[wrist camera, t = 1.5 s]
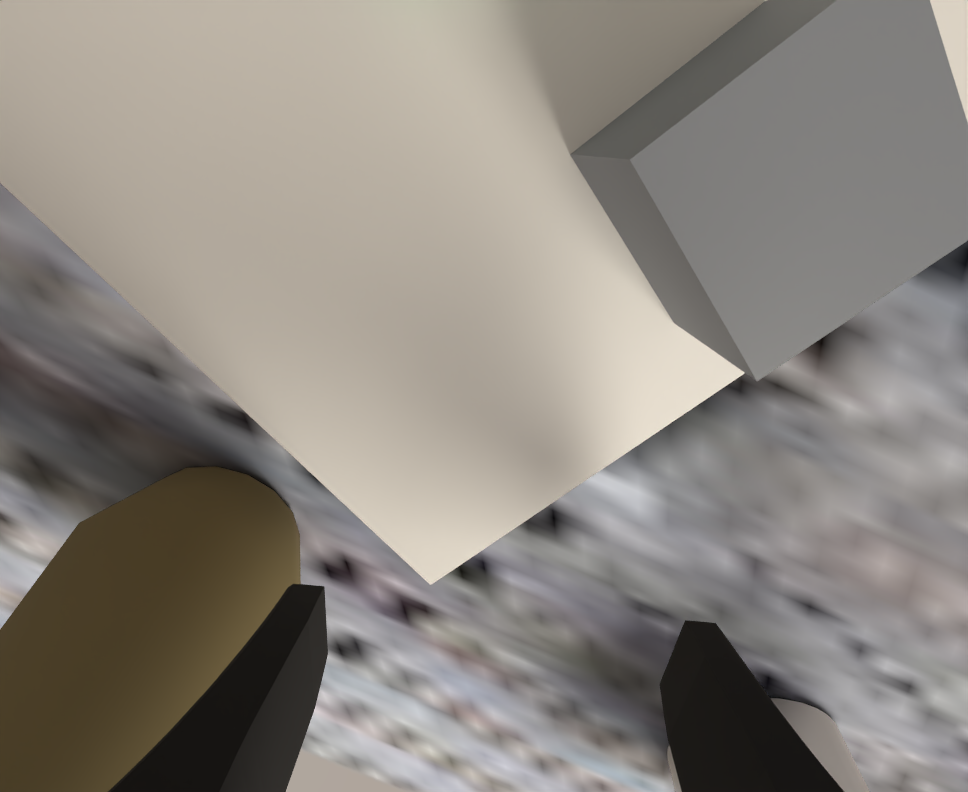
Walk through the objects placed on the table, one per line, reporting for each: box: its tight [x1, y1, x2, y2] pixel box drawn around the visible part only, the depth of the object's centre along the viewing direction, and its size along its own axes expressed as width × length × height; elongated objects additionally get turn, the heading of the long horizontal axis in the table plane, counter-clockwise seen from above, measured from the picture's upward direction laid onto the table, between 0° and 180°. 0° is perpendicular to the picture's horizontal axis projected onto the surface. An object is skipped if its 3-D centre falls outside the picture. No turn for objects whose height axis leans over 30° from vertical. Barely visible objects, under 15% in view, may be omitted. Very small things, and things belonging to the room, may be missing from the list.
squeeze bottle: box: [0, 466, 301, 792], centre depth 15 cm, size 8×8×18 cm
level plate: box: [0, 0, 968, 585], centre depth 9 cm, size 13×20×4 cm, turn 126°
